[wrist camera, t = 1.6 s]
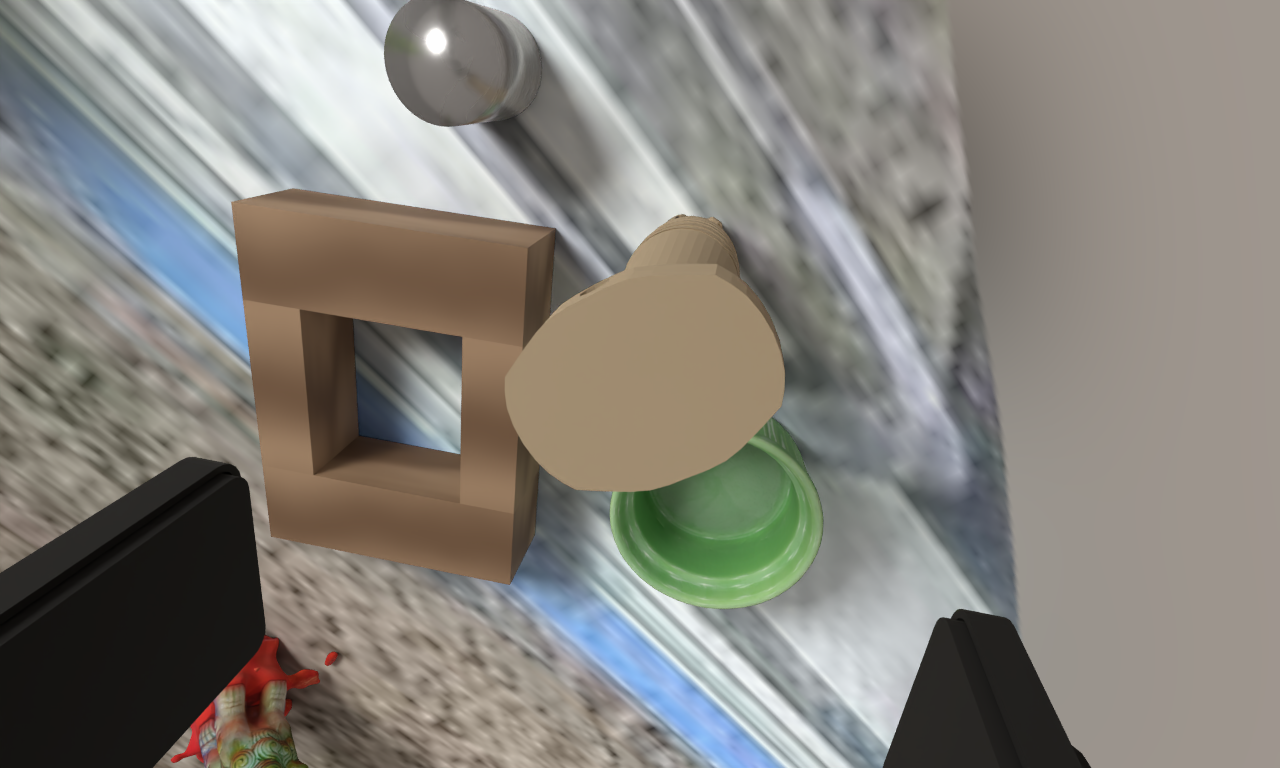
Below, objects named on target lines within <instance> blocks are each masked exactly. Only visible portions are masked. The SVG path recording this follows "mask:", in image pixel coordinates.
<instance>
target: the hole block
mask: <svg viewBox="0 0 1280 768" xmlns="http://www.w3.org/2000/svg"><path fill="white" fill-rule="evenodd" d="M231 203H232V212H233V220H234V228H235V237H236V245H237V254H238V262H239V271H240V279H241V287H242V296H243V304H244V313H245V321H246V329H247V338H248V346H249V355H250V363H251V371H252V380H253V388H254V397H255V405H256V414H257V422H258V430H259V439H260V447H261V456H262V464H263V472H264V481H265V489H266V498H267V506H268V515H269V523H270V531H271V537H276V538H281V539H286V540H291V541H296V542H301V543H306V544H311V545H316V546H321V547H326V548H331V549H335V550H340V551H345V552H350V553H355V554H360V555H365V556H370V557H375V558H380V559H385V560H390V561H395V562H400V563H405V564H409V565H414V566H419V567H424V568H429V569H434V570H439V571H444V572H449V573H454V574H459V575H464V576H469V577H474V578H478V579H483V580H488V581H493V582H498V583H503V584H508V585H510V584H511V582H512V580H513V578H514V576H515V574H516V572H517V570H518V568H519V566H520V564H521V562H522V560H523V558H524V556H525V554H526V552H527V550H528V548H529V546H530V543H531V541H532V539H533V537H534V535H535V524H536V509H537V494H538V480H539V465H540V464H539V463H538V462H537V461H536V460H535V459H534V458H533V456H532V455H531V454H530V452H529V451H528V450H527V448H526V447H525V446H524V444H523V443H522V441H521V439H520V437H519V435H518V433H517V432H516V430H515V428H514V426H513V424H512V421H511V418H510V415H509V412H508V410H507V406H506V398H505V376H506V375H507V373H508V372H509V370H510V369H511V367H512V366H513V364H514V363H515V361H516V360H517V358H518V357H519V355H520V354H521V352H522V351H523V350H524V348H525V347H526V346H527V344H528V343H529V341H530V340H531V339H532V337H533V336H534V335H535V333H536V332H537V331H538V330H539V329H540V328H541V327H542V325H543V324H544V323H545V322H546V321H547V320H548V318H549V317H550V305H551V290H552V276H553V261H554V247H555V232H556V228H549V227H542V226H536V225H529V224H523V223H516V222H510V221H503V220H497V219H490V218H483V217H477V216H470V215H464V214H457V213H451V212H444V211H438V210H431V209H424V208H418V207H411V206H405V205H398V204H392V203H385V202H378V201H372V200H365V199H359V198H352V197H346V196H339V195H333V194H326V193H319V192H313V191H306V190H300V189H289V190H284V191H279V192H275V193H270V194H266V195H261V196H256V197H252V198H247V199H243V200H238V201H234V202H231ZM353 318H354V319H360V320H366V321H372V322H378V323H383V324H389V325H395V326H401V327H407V328H413V329H419V330H425V331H431V332H437V333H442V334H448V335H454V336H460V337H462V400H461V454H455V453H450V452H444V451H439V450H434V449H428V448H423V447H418V446H412V445H407V444H401V443H396V442H391V441H385V440H380V439H374V438H369V437H364V436H359V428H358V409H357V390H356V371H355V352H354V333H353Z"/></svg>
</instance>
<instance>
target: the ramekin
mask: <svg viewBox="0 0 1280 768" xmlns="http://www.w3.org/2000/svg"><path fill="white" fill-rule="evenodd" d="M610 523H611V529H612V533H613V537H614V540H615V543H616V545H617V547H618V549H619V551H620V553H621V555H622V557H623V558H624V560H625V561H626V562H627V564H628V565H629V566H630V567H631V569H632V570H633V571H634V572H635V573H636V574H637V575H638V576H639V577H640V578H641V579H643V580H644V581H645V582H646V583H648V584H649V585H650V586H652V587H653V588H655V589H656V590H658V591H660V592H661V593H663V594H665V595H667V596H669V597H672V598H674V599H676V600H678V601H681V602H684V603H686V604H691V605H694V606H699V607H704V608H713V609H734V608H742V607H748V606H752V605H757V604H760V603H763V602H765V601H768V600H770V599H772V598H774V597H776V596H778V595H780V594H782V593H783V592H785V591H786V590H788V589H789V588H790V587H792V586H793V585H794V584H795V583H796V582H797V581H799V579H800V578H801V577H802V576H803V575H804V574H805V573H806V571H807V570H808V568H809V567H810V565H811V564H812V563H813V561H814V559H815V557H816V555H817V552H818V549H819V547H820V544H821V540H822V534H823V512H822V507H821V502H820V499H819V496H818V493H817V490H816V488H815V486H814V484H813V482H812V480H811V478H810V476H809V475H808V473H807V471H806V468H805V465H804V462H803V459H802V456H801V454H800V452H799V450H798V448H797V445H796V444H795V442H794V441H793V439H792V438H791V436H790V435H789V434H788V432H787V431H786V430H785V429H784V428H783V427H782V426H781V425H780V424H779V423H778V422H777V421H776V420H774V419H773V418H772V417H771V418H770V419H769V420H768V421H767V422H766V424H765V425H764V426H763V427H762V428H761V429H760V430H759V431H758V432H757V433H756V434H755V435H754V436H753V437H752V438H751V439H750V440H749V441H748V442H747V443H746V444H745V445H744V447H743V448H741V449H740V450H739V451H738V452H736V453H735V454H734V455H733V456H732V457H730V458H729V459H728V460H727V461H725V462H723V463H721V464H719V465H717V466H715V467H713V468H711V469H709V470H707V471H704V472H702V473H699V474H697V475H694V476H691V477H689V478H686V479H684V480H681V481H679V482H676V483H673V484H671V485H668V486H664V487H661V488H657V489H653V490H648V491H636V492H614V491H613V493H612V498H611V503H610Z"/></svg>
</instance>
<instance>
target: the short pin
mask: <svg viewBox="0 0 1280 768" xmlns="http://www.w3.org/2000/svg"><path fill="white" fill-rule="evenodd" d="M384 59H385V67H386V72H387V75H388V78H389V81H390V83H391V86H392V88H393V90H394V92H395V93H396V95H397V97H398V98H399V99H400V101H401V102H402V103H403V104H404V106H405V107H406V108H407V109H408V110H409V111H411V112H412V113H413V114H414V115H416V116H417V117H418V118H420V119H422V120H424V121H426V122H428V123H431V124H434V125H438V126H446V127H450V126H460V125H468V124H475V123H483V122H491V121H499V120H505V119H510V118H512V117H515V116H517V115H518V114H520V113H522V112H523V111H524V110H525V109H526V108H527V107H528V106H529V105H530V104H531V103H532V101H533V100H534V98H535V96H536V94H537V92H538V89H539V87H540V82H541V76H542V62H541V56H540V52H539V49H538V46H537V44H536V42H535V39H534V37H533V36H532V34H531V33H530V31H529V30H528V29H527V28H526V27H525V25H524V24H522V23H521V22H520V21H519V20H518V19H516V18H515V17H513V16H511V15H510V14H508V13H505V12H502V11H499V10H496V9H492V8H489V7H485V6H482V5H479V4H475V3H472V2H469V1H465V0H411V1H410V2H408V3H407V4H405V5H404V6H403V7H402V8H401V9H400V10H399V11H398V12H397V14H396V15H395V16H394V18H393V20H392V22H391V24H390V26H389V28H388V31H387V35H386V39H385V46H384Z"/></svg>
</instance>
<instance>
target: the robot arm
mask: <svg viewBox="0 0 1280 768" xmlns="http://www.w3.org/2000/svg"><path fill="white" fill-rule="evenodd" d="M264 636H265V617H264V609H263V600H262V592H261V584H260V575H259V567H258V558H257V550H256V542H255V533H254V525H253V516H252V508H251V499H250V491H249V486H248V482H247V481H246V480H245V479H244V478H242V477H241V476H240V472H239V471H238V469H237V468H236V467H235V466H233V465H231V464H227V463H222V462H217V461H212V460H207V459H202V458H197V457H188V458H185V459H183V460H181V461H179V462H178V463H176V464H174V465H173V466H171V467H170V468H168V469H166V470H165V471H163V472H162V473H160V474H158V475H157V476H155V477H154V478H152V479H150V480H149V481H147V482H145V483H144V484H142V485H141V486H139V487H137V488H136V489H134V490H133V491H131V492H129V493H128V494H126V495H125V496H123V497H121V498H120V499H118V500H117V501H115V502H113V503H112V504H110V505H109V506H107V507H105V508H104V509H102V510H101V511H99V512H97V513H96V514H94V515H93V516H91V517H89V518H88V519H86V520H85V521H83V522H81V523H80V524H78V525H77V526H75V527H73V528H72V529H70V530H69V531H67V532H65V533H64V534H62V535H61V536H59V537H57V538H56V539H54V540H53V541H51V542H49V543H48V544H46V545H45V546H43V547H41V548H40V549H38V550H37V551H35V552H33V553H32V554H30V555H29V556H27V557H25V558H24V559H22V560H21V561H19V562H17V563H16V564H14V565H13V566H11V567H9V568H8V569H6V570H5V571H3V572H1V573H0V768H153V767H154V766H155V764H156V763H157V762H158V761H159V760H160V759H161V758H162V757H163V756H164V755H165V753H166V752H167V751H168V750H169V749H170V748H171V747H172V746H173V745H174V744H175V742H176V741H177V740H178V739H179V738H180V737H181V736H182V735H183V734H184V733H185V731H186V730H187V729H188V728H189V727H190V726H191V725H192V724H193V723H194V722H195V720H196V719H197V718H198V717H199V716H200V715H201V714H202V713H203V712H204V711H205V709H206V708H207V707H208V706H209V705H210V704H211V703H212V702H213V701H214V700H215V698H216V697H217V696H218V695H219V694H220V693H221V692H222V691H223V690H224V689H225V687H226V686H227V685H228V684H229V683H230V682H231V681H232V680H233V679H234V677H235V676H236V675H237V674H238V673H239V672H240V671H241V670H242V669H243V668H244V666H245V665H246V664H247V663H248V662H249V661H250V660H251V659H252V658H253V657H254V655H255V654H256V653H257V651H258V650H259V648H260V646H261V644H262V642H263V639H264ZM883 768H1091V767H1090V765H1089V763H1088V762H1087V760H1086V759H1085V757H1084V756H1083V754H1082V753H1081V752H1079V751H1078V750H1077V749H1076V748H1074V747H1073V746H1072V745H1071V743H1070V741H1069V739H1068V737H1067V735H1066V733H1065V731H1064V729H1063V726H1062V725H1061V722H1060V720H1059V718H1058V716H1057V714H1056V712H1055V710H1054V708H1053V706H1052V704H1051V702H1050V700H1049V697H1048V695H1047V693H1046V691H1045V689H1044V687H1043V685H1042V683H1041V681H1040V679H1039V677H1038V675H1037V672H1036V670H1035V668H1034V666H1033V664H1032V662H1031V660H1030V658H1029V656H1028V654H1027V652H1026V650H1025V648H1024V646H1023V643H1022V641H1021V639H1020V637H1019V635H1018V633H1017V631H1016V629H1015V627H1014V625H1013V624H1012V622H1011V621H1010V620H1009V619H1007V618H1005V617H1000V616H995V615H990V614H985V613H980V612H975V611H969V610H964V609H958V610H956V612H955V613H954V614H953V615H952V617H951V619H949V618H944V617H942V618H939V620H938V621H937V622H936V624H935V627H934V629H933V632H932V635H931V637H930V640H929V643H928V646H927V648H926V651H925V654H924V656H923V659H922V662H921V664H920V667H919V670H918V673H917V675H916V678H915V681H914V683H913V686H912V689H911V692H910V694H909V697H908V700H907V702H906V705H905V708H904V711H903V713H902V716H901V719H900V721H899V724H898V727H897V729H896V732H895V735H894V738H893V740H892V743H891V746H890V748H889V751H888V754H887V757H886V759H885V762H884V765H883Z"/></svg>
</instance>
